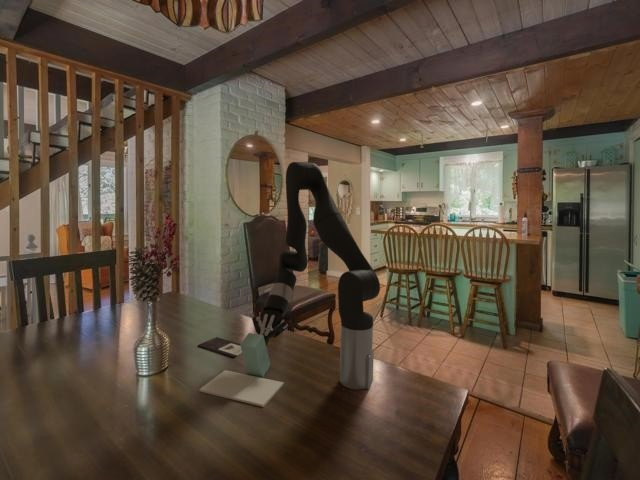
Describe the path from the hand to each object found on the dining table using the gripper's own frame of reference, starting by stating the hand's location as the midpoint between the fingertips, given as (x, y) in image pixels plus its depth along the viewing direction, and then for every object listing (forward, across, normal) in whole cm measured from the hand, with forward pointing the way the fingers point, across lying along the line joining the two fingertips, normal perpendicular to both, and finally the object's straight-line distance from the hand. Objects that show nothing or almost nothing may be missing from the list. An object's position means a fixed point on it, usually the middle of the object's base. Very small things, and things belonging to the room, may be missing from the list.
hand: (260, 348), depth 101 cm
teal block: (+5, 0, +4) cm, 7 cm away
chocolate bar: (-2, -21, +13) cm, 25 cm away
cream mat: (+12, 0, -2) cm, 12 cm away
